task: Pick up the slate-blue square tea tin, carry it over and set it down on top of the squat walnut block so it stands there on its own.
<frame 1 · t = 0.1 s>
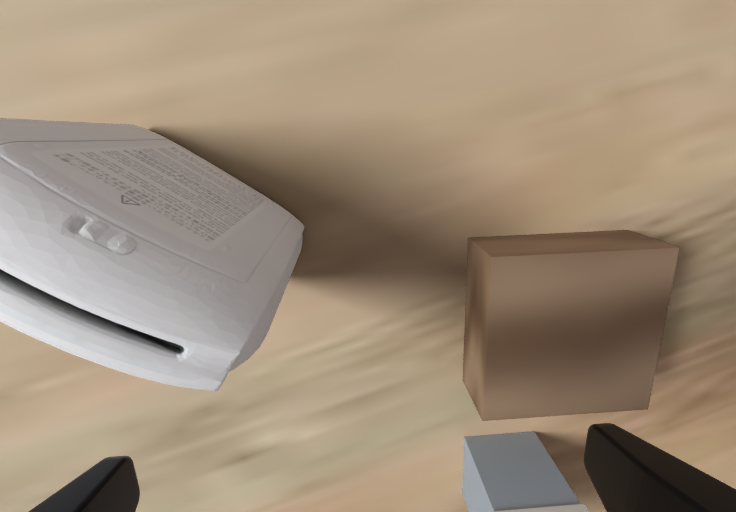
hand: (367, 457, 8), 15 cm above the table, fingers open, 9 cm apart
walnut block: (538, 306, 24), on the table
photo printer: (211, 204, 21), on the table
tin: (497, 462, 27), on the table
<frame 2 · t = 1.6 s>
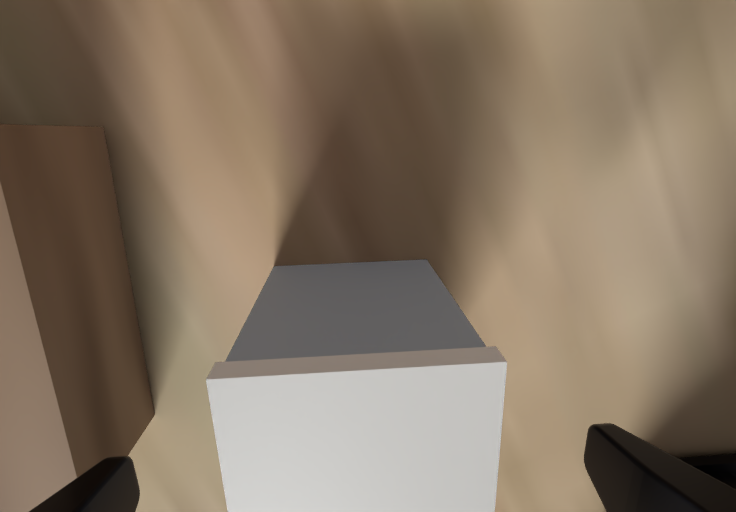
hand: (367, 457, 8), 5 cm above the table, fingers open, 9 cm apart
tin: (353, 331, 13), on the table
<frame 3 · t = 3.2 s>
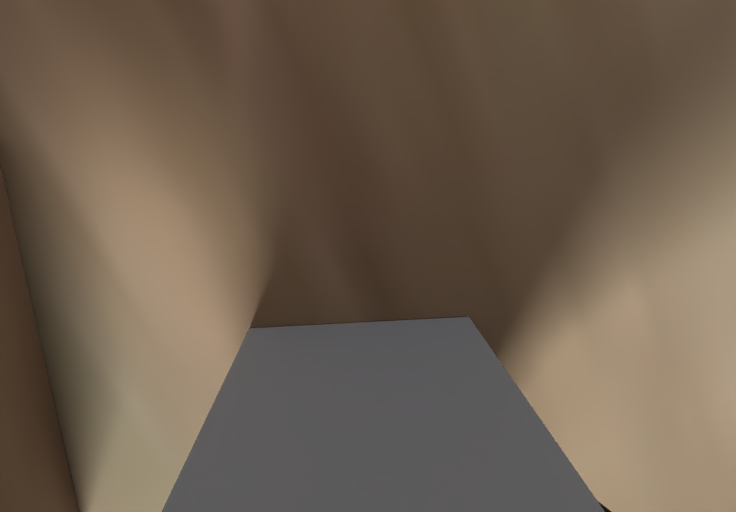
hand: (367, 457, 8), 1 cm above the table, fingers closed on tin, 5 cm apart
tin: (364, 415, 9), on the table, touching gripper
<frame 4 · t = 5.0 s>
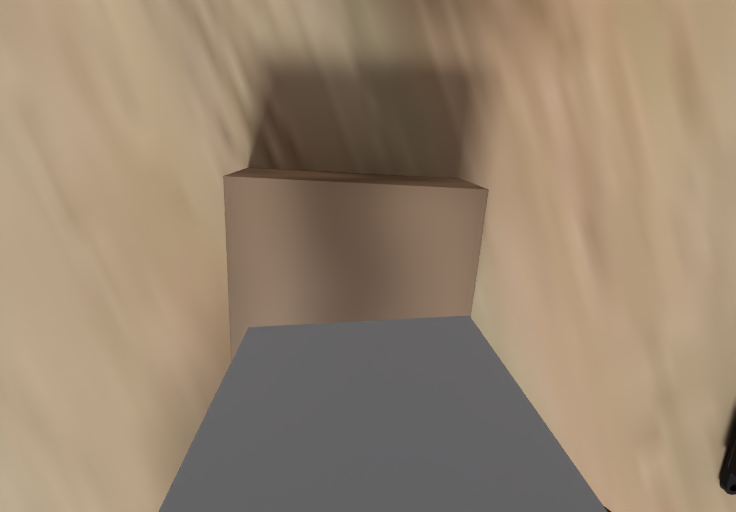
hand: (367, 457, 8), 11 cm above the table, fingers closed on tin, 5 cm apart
walnut block: (350, 270, 19), on the table
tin: (363, 414, 9), point 10 cm above the table, touching gripper
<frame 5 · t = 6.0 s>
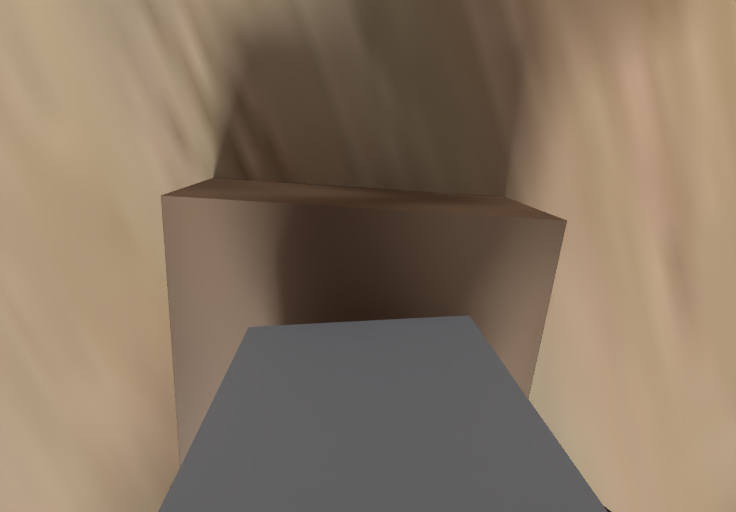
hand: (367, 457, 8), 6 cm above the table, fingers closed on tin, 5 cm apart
walnut block: (353, 316, 14), on the table
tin: (363, 414, 9), point 5 cm above the table, touching gripper
when the fingers open (6 cm above the table, at t = 6.8 s): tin stays where it is, point 4 cm above the table.
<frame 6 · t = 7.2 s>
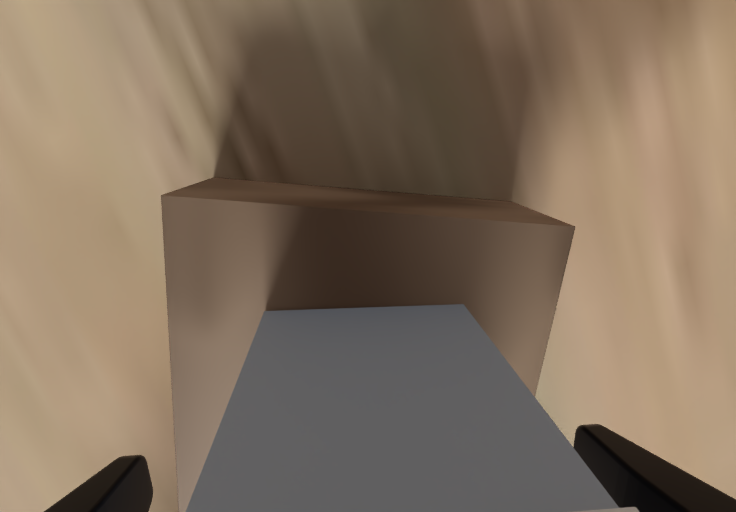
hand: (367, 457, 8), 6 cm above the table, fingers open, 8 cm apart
walnut block: (354, 320, 14), on the table
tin: (366, 393, 10), point 4 cm above the table
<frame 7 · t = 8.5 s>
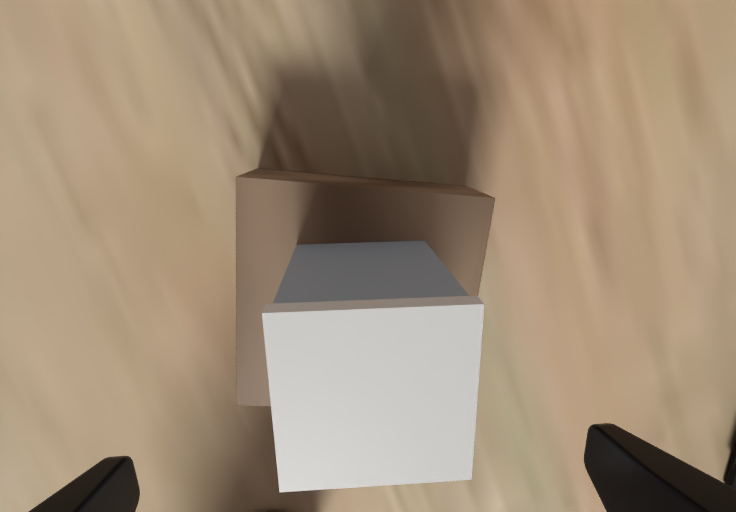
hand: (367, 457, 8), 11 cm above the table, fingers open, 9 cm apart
walnut block: (355, 273, 19), on the table, touching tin
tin: (362, 302, 15), point 4 cm above the table, touching walnut block
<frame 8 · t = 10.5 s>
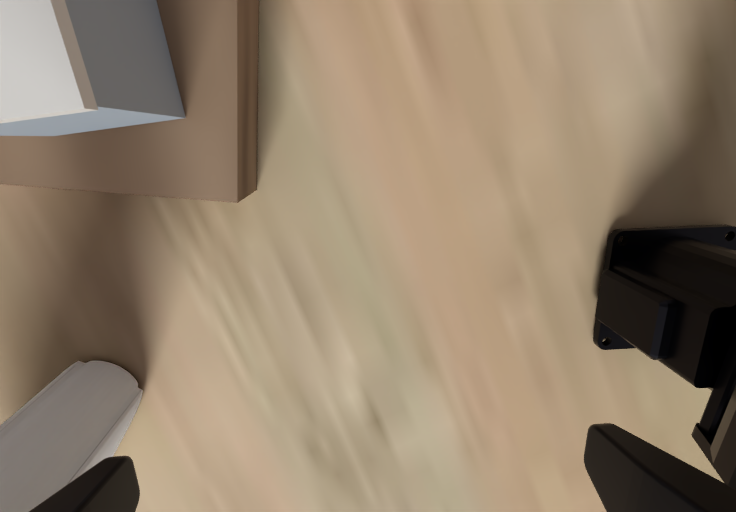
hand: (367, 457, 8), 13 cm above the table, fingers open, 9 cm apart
walnut block: (153, 75, 17), on the table
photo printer: (83, 431, 22), on the table
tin: (98, 55, 13), point 4 cm above the table
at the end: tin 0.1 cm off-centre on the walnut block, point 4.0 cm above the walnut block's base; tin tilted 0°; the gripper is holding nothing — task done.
